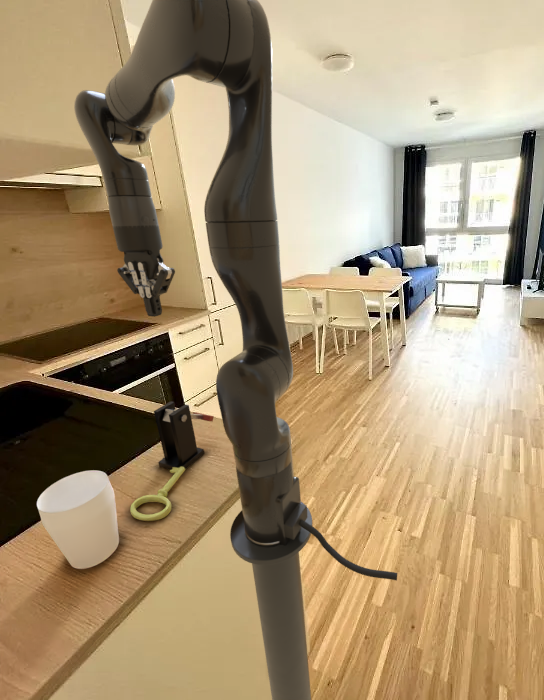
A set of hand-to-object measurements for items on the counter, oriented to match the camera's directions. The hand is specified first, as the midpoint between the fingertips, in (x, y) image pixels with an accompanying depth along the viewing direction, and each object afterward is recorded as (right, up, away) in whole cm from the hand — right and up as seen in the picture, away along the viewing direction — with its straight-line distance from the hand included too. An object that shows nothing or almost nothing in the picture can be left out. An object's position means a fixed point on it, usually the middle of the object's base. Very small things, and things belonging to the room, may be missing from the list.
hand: (154, 315), depth 72 cm
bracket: (+3, -31, +6) cm, 32 cm away
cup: (-2, -39, -15) cm, 42 cm away
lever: (+4, -22, +6) cm, 23 cm away
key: (+4, -35, -4) cm, 35 cm away
